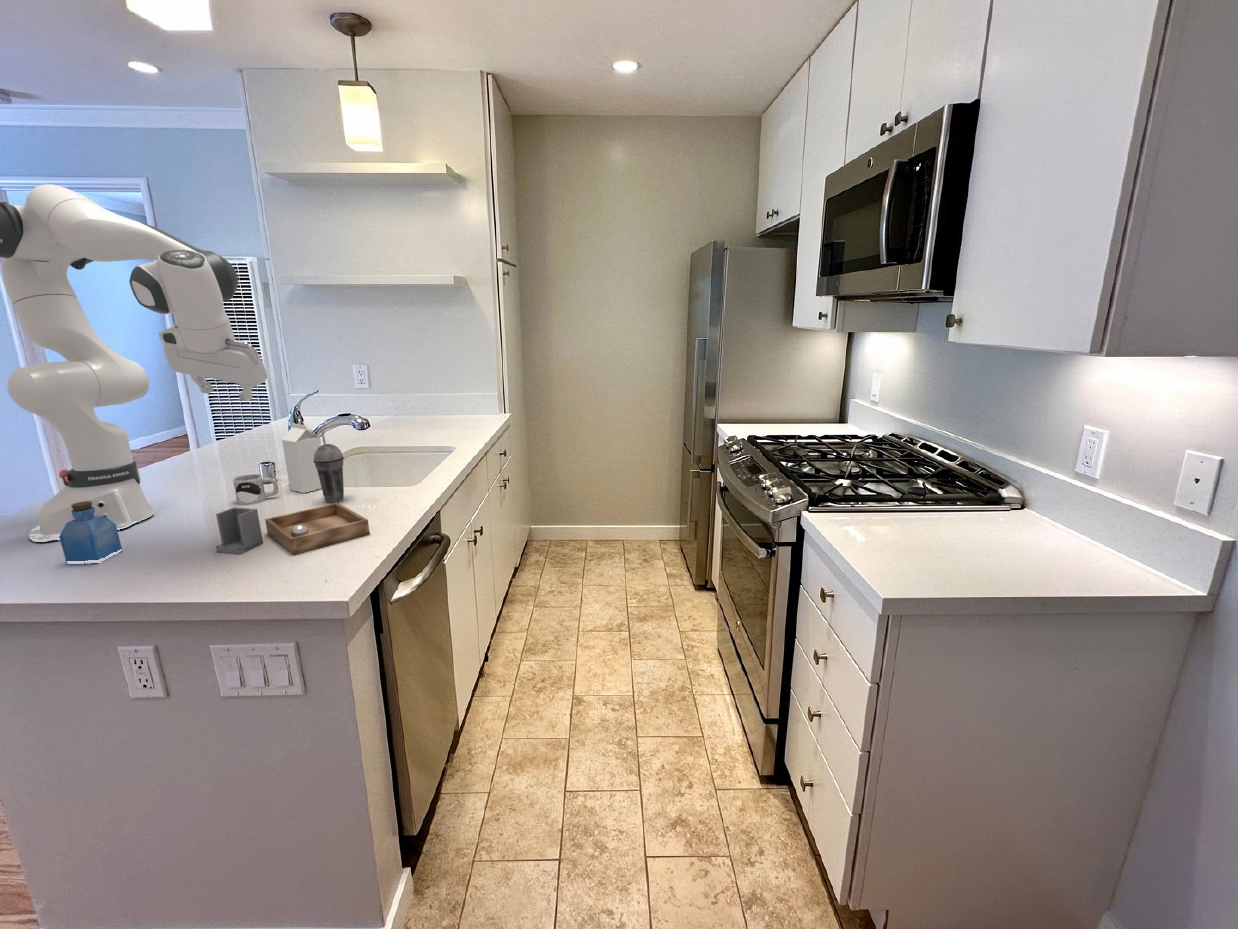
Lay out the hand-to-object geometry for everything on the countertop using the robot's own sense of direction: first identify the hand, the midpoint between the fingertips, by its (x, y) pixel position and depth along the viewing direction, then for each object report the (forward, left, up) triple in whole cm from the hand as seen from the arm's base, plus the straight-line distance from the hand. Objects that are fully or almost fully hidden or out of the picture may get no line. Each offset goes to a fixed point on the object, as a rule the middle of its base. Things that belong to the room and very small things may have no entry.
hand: (227, 395), depth 125 cm
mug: (+8, +27, -32) cm, 42 cm away
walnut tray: (+10, -12, -32) cm, 36 cm away
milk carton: (+21, +28, -32) cm, 47 cm away
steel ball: (+6, -16, -29) cm, 34 cm away
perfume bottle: (-27, +8, -32) cm, 42 cm away
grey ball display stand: (-4, -8, -32) cm, 33 cm away
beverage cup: (+22, +11, -32) cm, 40 cm away
